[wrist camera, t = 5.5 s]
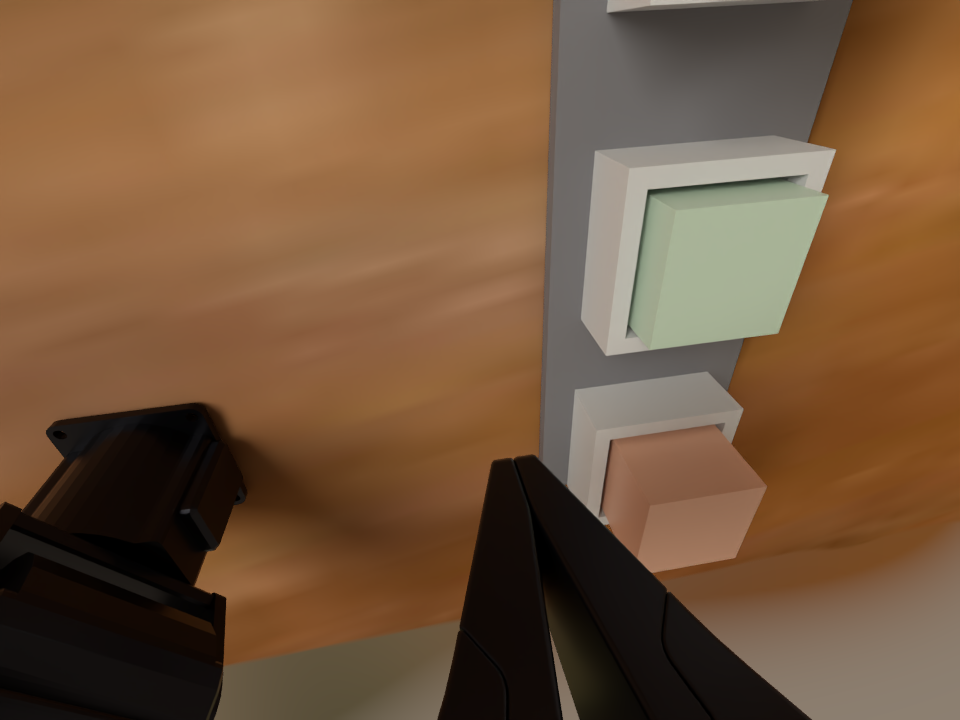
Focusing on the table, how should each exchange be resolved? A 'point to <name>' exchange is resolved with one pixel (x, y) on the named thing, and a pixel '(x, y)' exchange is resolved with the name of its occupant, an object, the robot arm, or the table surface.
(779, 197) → the sage button
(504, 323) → the table surface
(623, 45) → the button panel
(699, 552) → the terracotta button
